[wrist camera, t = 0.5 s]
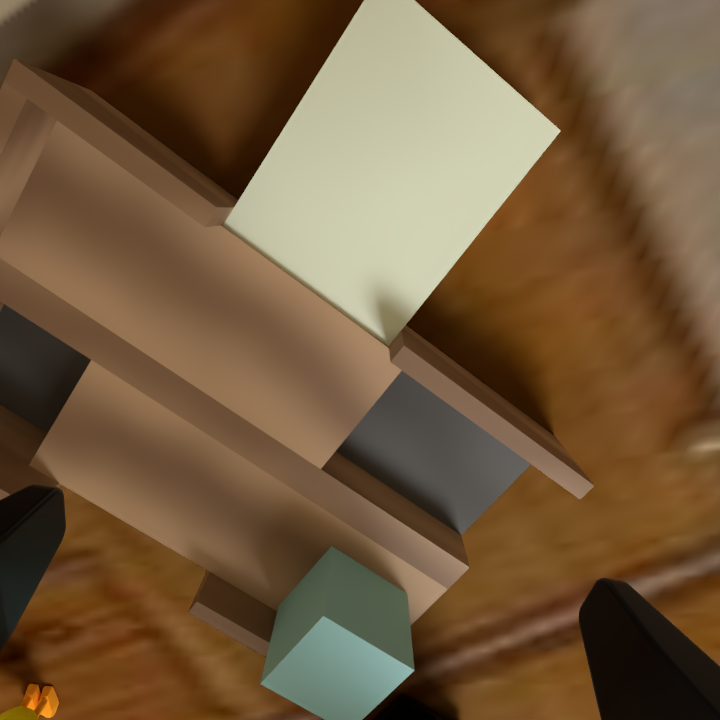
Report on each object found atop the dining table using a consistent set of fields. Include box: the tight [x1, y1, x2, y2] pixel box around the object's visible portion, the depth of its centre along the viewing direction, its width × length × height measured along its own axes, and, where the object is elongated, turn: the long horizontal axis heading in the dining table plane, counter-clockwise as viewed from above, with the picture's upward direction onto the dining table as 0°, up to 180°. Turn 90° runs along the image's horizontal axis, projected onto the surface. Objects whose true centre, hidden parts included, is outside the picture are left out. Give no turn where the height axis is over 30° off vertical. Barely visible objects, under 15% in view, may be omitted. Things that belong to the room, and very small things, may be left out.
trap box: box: [0, 58, 594, 657], centre depth 21 cm, size 16×25×4 cm, turn 53°
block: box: [260, 546, 414, 720], centre depth 21 cm, size 4×4×4 cm
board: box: [223, 0, 560, 346], centre depth 19 cm, size 10×8×2 cm
